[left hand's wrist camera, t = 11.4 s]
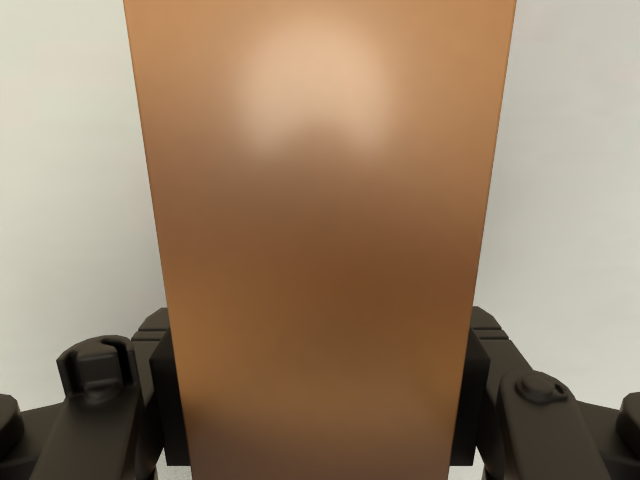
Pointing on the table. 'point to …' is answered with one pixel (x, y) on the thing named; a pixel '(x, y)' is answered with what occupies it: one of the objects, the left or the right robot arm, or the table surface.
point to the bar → (319, 222)
